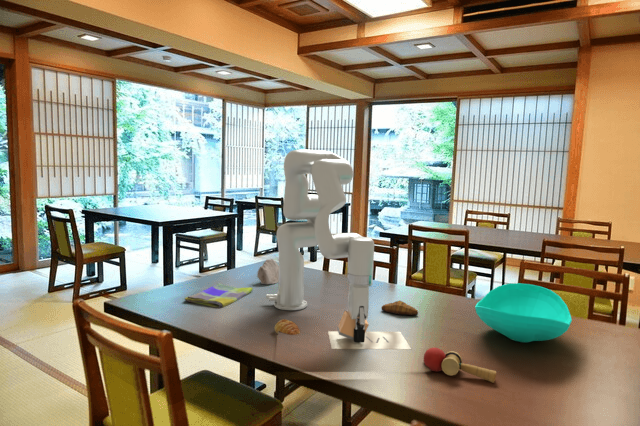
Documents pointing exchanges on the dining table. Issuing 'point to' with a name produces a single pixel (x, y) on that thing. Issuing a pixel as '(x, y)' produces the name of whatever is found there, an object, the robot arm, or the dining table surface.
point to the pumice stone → (269, 272)
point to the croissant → (399, 308)
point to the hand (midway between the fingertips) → (357, 337)
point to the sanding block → (348, 326)
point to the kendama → (454, 364)
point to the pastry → (287, 327)
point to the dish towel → (219, 295)
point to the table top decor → (524, 312)
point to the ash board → (369, 341)
